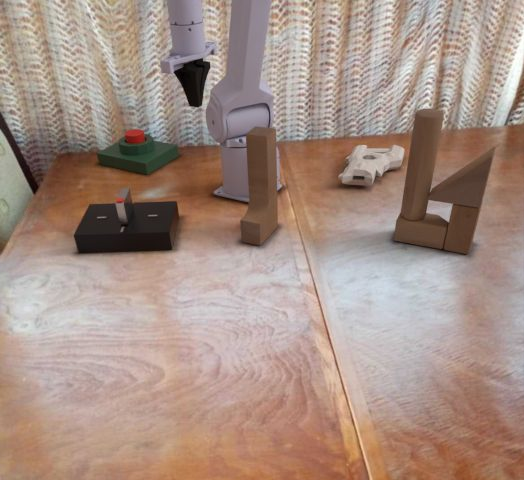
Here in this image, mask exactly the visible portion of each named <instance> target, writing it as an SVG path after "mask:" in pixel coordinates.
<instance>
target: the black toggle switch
mask: <svg viewBox="0 0 524 480" xmlns="http://www.w3.org/2000/svg"><path fill="white" fill-rule="evenodd" d="M115 203H116V202H110V203H89V204H88V206H87V208H86V210H85V212H84V213H83V216H82V217H81V220H80V222H79V224H78V225H77V227H76V230H75V232H74V233H73V239H74V242H75V245H76V249H77V252H78V254H93V253H95V254H96V253H119V252H121V253H122V252H148V251H149V252H151V251H152V252H153V251H172V250H173V249H174V243H175V239H176V234H177V230H178V225H179V221H180V213H179V207H178V201H177V200H166V201H163V200H162V201H140V202H133V207H134V210H133V213H132V216H131V218H130V221H129V224H128V225H120V221H119V217H118V213H117V208H116V204H115Z"/></svg>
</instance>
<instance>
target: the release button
mask: <svg viewBox="0 0 524 480" xmlns="http://www.w3.org/2000/svg"><path fill="white" fill-rule="evenodd" d="M144 134H145V131H144V130H143V129H140V128H139V129H138V128H137V129H136V128H135V129H130V130H127V131H126V132H124V136H125V137H126V142H127V143H129V144H137V143H142V142H144V141H145V136H144Z"/></svg>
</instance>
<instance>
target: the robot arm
mask: <svg viewBox="0 0 524 480" xmlns="http://www.w3.org/2000/svg"><path fill="white" fill-rule="evenodd" d="M166 5H167V14H168V22H169V29H170V30H169V31H170V37H171V38H170V39H171V45H172V48H170V49H168V53H169V54H168V55H166V57H164V58H163V59H160V60H159V63H160V70H161V74H167V75H171V74H174V76H175V77H176V79H177V80H178V82H179V84H180V86H181V87H182V90H183V92H184V96H185V98H186V101H187V103H188V106H189V107H190V108H198V109H199V108H200V107H202V106H203V101H204V94H205V93H204V92H205V87H206V81H207V78H208V75H209V72H210V70H211V62H210V61H208V60H207V61H206V60H204V59H206V58H208V57H210V56H217V55H218V54H219V53H218V44H217V42H216V41H206V38H205V27H204V16H203V6H202V5H203V4H202V0H166ZM271 6H272V0H231V8H230V19H229V31H228V43H227V56H226V67H225V75H224V76H223V77H222V78H221V79H220V80H219V81H218V82H217V83H216V84H215V85H213V87H211V89H210V93H209V100H208V103H207V105H206V108H205V122H206V127H207V130H208V132H209V135H210V136H211V139H213V140H214V141H215V142H216V143H218V144H219V151H220V163H221V175H222V185H221V186H220V187H218V188H217V189H215V190H214V191H213V195H214V196H217V197H222V198H226V199H231V200H235V201H239V202H244V203H248V204H249V185H248V167H247V148H246V133H248V132H249V131H250V130H252V129H253V128H254V127H256V126H257V127H265V128H273V125H274V122H275V108H274V101H275V100H274V99H275V95H274V92H273V91H272V88H271V86H269V84H268V82H266V81H265V80H264V79H263V78H262V72H263V71H262V70H263V65H264V57H265V49H266V43H267V35H268V28H269V23H270V22H269V20H270V14H271ZM276 149H277V192H278V191H279V190H280V189H282V187H283V185H282V184H281V176H280V175H281V173H280V172H281V167H280V164H281V163H280V160H281V159H280V151H279V148H278V146H277V145H276Z"/></svg>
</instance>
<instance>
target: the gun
mask: <svg viewBox="0 0 524 480" xmlns="http://www.w3.org/2000/svg"><path fill="white" fill-rule="evenodd" d="M405 150H406V149H405V148H404V147H402V146H400V145H397V144H391V146H390V147H389V148H385V147H384V148H381V147H380V148H378V147H377V148H375V147H374V148H373V147H371V148H370V147H368V145H366V144H359V145H356V146H354V148H353V150H352V151H351V154H350V155H348V156H347V157H345V160H347V161H346V162H345V163H344V164H347V166H346V167H345V168H344V170H343V172H342V173H339V175H338V179H339V180H341V183H342V184H343V185H350V186H351V185H352V186H363V187H364V186H365V187H372V186H373V184H374V183H375V182H374V181H375V178H376V177H378V178H379V177H380V178H382V176H383V174H384V173H385V172H387V171H390V170H397V169H398V168H400V167H402V163H403V160H404V157H405Z"/></svg>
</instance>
